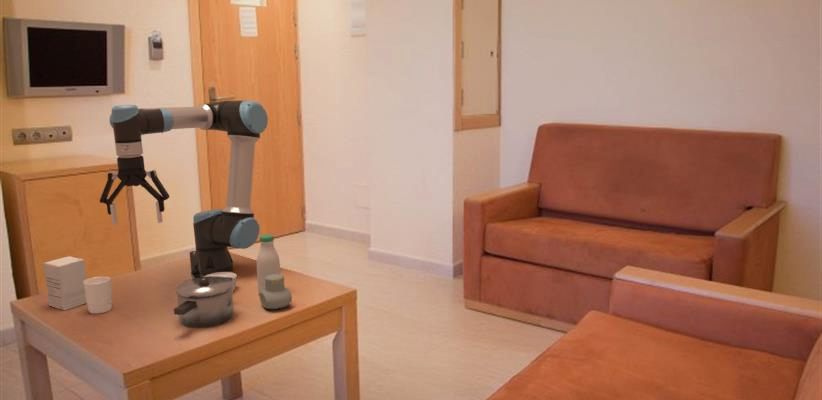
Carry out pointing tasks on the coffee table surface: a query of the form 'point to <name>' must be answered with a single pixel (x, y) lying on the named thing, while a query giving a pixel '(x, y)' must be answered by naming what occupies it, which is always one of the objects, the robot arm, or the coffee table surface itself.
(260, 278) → the milk bottle
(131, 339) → the coffee table surface
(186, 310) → the pot
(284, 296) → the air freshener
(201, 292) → the lid
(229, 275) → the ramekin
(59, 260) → the supplement box
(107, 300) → the white cup
